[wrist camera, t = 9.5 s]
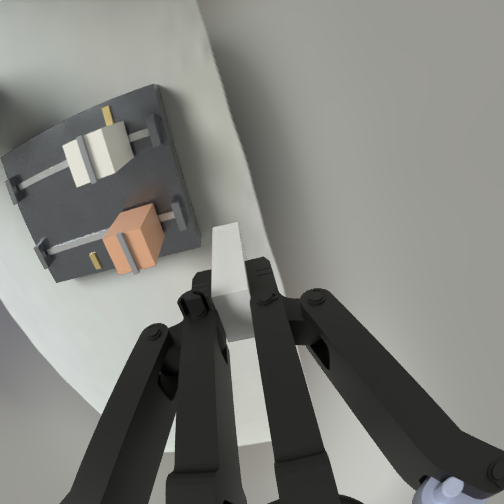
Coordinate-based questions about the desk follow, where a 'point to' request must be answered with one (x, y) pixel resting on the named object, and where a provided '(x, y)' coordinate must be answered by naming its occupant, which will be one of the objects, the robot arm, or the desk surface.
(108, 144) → the fader cream
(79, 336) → the desk surface
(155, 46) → the desk surface
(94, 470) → the robot arm
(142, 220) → the fader terracotta
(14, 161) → the console
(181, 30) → the desk surface
